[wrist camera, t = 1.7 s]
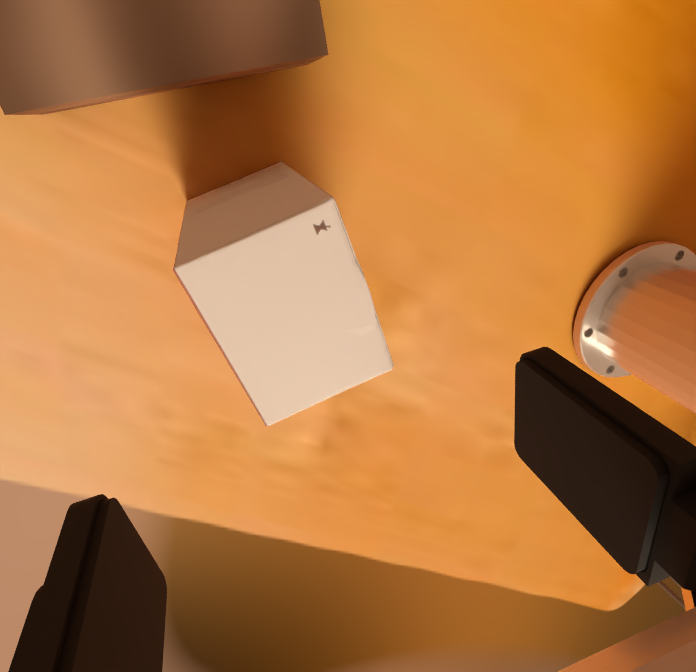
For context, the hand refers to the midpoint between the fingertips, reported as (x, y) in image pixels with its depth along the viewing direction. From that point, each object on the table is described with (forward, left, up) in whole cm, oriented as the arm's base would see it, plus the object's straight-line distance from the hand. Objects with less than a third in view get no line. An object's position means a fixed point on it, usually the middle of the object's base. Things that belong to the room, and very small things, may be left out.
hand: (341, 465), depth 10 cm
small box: (0, 0, -21) cm, 21 cm away
